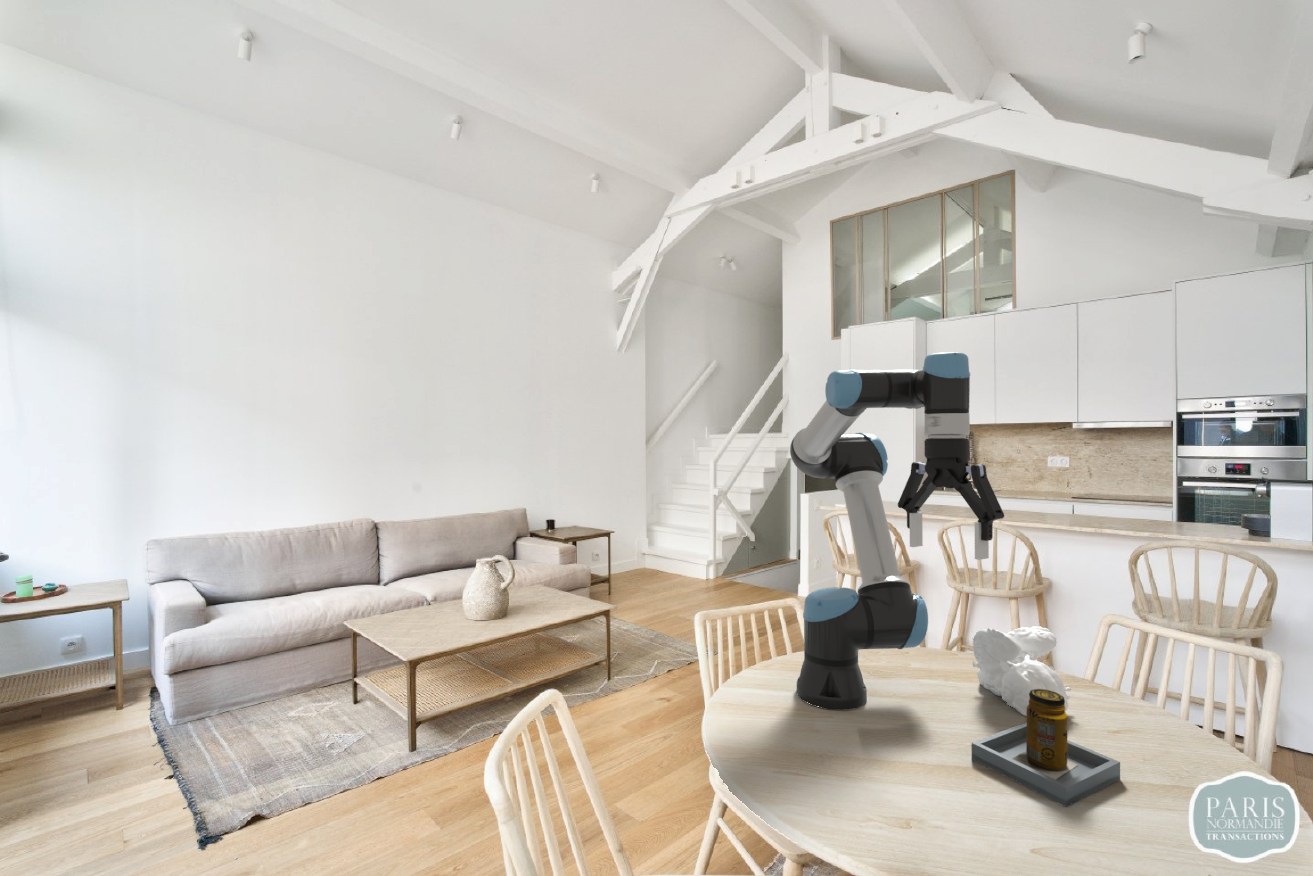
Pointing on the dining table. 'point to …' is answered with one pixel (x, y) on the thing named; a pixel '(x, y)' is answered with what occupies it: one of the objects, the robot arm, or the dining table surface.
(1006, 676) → the white lumpy sculpture
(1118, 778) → the tray
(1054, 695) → the condiment
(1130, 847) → the dining table surface
